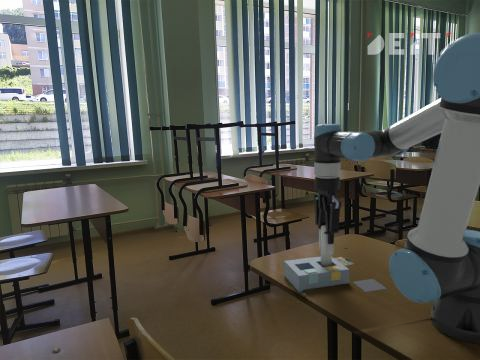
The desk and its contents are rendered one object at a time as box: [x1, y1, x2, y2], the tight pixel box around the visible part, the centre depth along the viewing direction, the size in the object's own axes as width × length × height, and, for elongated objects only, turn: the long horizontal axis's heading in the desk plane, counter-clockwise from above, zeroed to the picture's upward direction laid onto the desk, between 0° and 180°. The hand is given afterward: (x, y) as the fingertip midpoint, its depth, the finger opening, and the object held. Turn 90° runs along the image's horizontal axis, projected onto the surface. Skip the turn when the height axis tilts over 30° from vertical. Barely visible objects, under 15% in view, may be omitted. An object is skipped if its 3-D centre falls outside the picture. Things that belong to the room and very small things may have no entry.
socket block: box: [283, 255, 350, 293], centre depth 117 cm, size 12×16×5 cm
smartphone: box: [333, 255, 356, 267], centre depth 129 cm, size 8×15×1 cm, turn 108°
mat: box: [352, 278, 388, 293], centre depth 112 cm, size 7×7×1 cm
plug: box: [320, 225, 333, 266], centre depth 116 cm, size 3×3×12 cm
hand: (326, 251), depth 117 cm, fingers closed on plug, 3 cm apart
